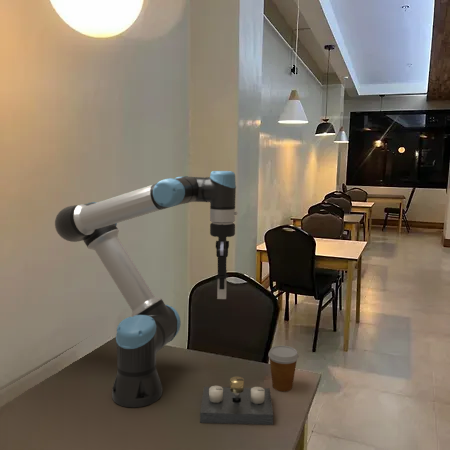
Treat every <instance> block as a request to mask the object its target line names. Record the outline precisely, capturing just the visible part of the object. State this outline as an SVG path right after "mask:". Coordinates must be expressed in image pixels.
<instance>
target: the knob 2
mask: <svg viewBox="0 0 450 450" xmlns="http://www.w3.org/2000/svg"><path fill="white" fill-rule="evenodd" d="M250 388H251V402H253V403H256V404H261V403H263V402H264V396H265V390H264V389H263V388H264V387H262V386H253V387H250Z"/></svg>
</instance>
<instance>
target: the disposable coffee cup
mask: <svg viewBox="0 0 450 450" xmlns="http://www.w3.org/2000/svg"><path fill="white" fill-rule="evenodd" d="M267 356H268V358H269V363H270V364H269V365H270V373H271V374H270V375H271V382H272V383H271V385H272V388H273V390H275V391H278V392H283V393H284V392H289V391H291V390H292V389H293V385H294V378H295V373H296V367H297V361H298V359H299V356H300V355H299V353H298V350H297V349H295V348H294V347H292V346H289V345H275V346H272V347H271V348H270V350H269V351H268V355H267Z"/></svg>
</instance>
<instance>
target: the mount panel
mask: <svg viewBox="0 0 450 450" xmlns="http://www.w3.org/2000/svg"><path fill="white" fill-rule="evenodd" d="M210 387H211V386H203V391H202V397H201V405H200V412H199V423H201V424H229V425H231V424H232V425H262V426H264V425H265V426H268V425H271V426H273V425H274V411H273V402H272V395H271V389H270V387H268V388H266V387H265V388H264V387H262V388H263V389H264V390H265V396H264V402H263V403H261V404H256V403H253V402H251V388H252V387H244V391H243V392H241V393H240V397H239V400H238V401H235V400H234V393H233V392H231V391H230V386H229V387H224V386H221V387H222V388H223V400H222V401H221V402H218V403H214V402H211V401H210V400H209V388H210Z"/></svg>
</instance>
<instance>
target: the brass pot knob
mask: <svg viewBox="0 0 450 450" xmlns="http://www.w3.org/2000/svg"><path fill="white" fill-rule="evenodd" d="M229 387H230V391H231V392H233V393H234V400H235V401H238V400H239V397H240V393H241V392H243V391H244V388H245V379H244V378H243V377H241V376H233V377H230V378H229Z"/></svg>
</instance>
